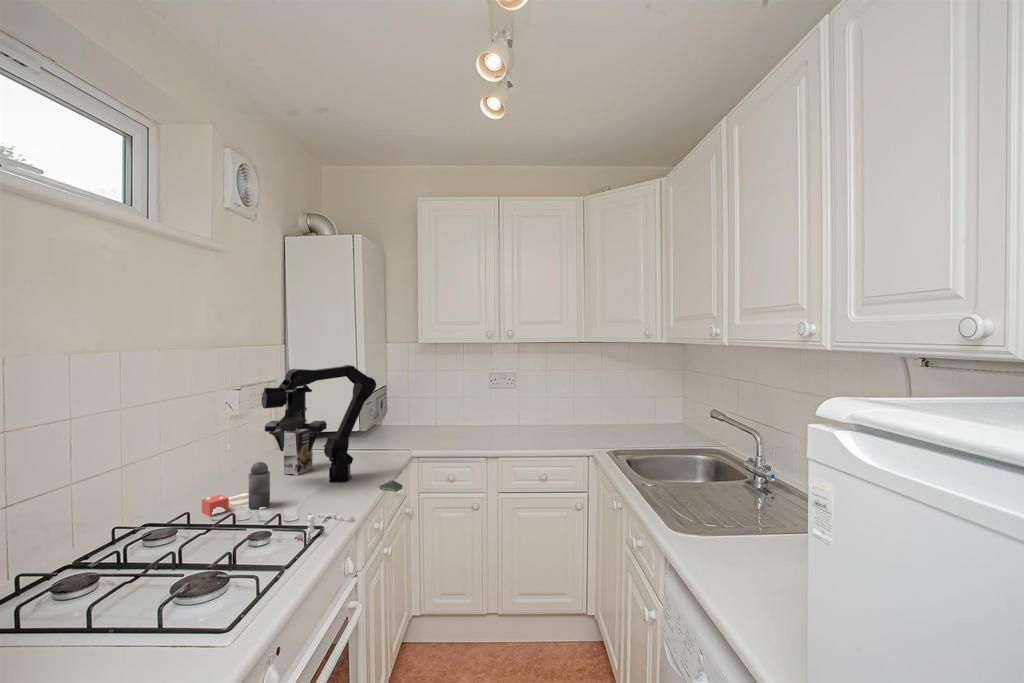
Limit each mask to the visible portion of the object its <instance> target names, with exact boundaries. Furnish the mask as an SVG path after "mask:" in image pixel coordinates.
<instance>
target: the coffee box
mask: <svg viewBox="0 0 1024 683" xmlns="http://www.w3.org/2000/svg"><path fill="white" fill-rule="evenodd" d="M309 432H311V431H310V430H309V429H296V430H295V431H292V432H290V431H285V433H284V450H283V475H285V474H294V475H293V476H296V475H297V476H300V475H302V474H304V473H303V472H305V473H307V472H309V471H311V470H313V448H314V447H312V449H311V451H309V449H308V446H309V434H308V433H309ZM310 469H311V470H310ZM308 470H309V471H308ZM306 471H307V472H306ZM301 473H302V474H301ZM299 474H300V475H299Z"/></svg>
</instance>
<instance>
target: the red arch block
mask: <svg viewBox="0 0 1024 683" xmlns="http://www.w3.org/2000/svg"><path fill="white" fill-rule="evenodd" d="M229 504H230V503H229V497H228V496H225V495H222V494H217V495H214V496H210V497H205V498H202V499H201V513H202V514H204V515H206V516H207V517H213V516H212V512H213V509H215V508H216V507H222V508H224V509H225V510H226V511H227V512H229V511H230V510H229V506H230V505H229Z"/></svg>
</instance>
